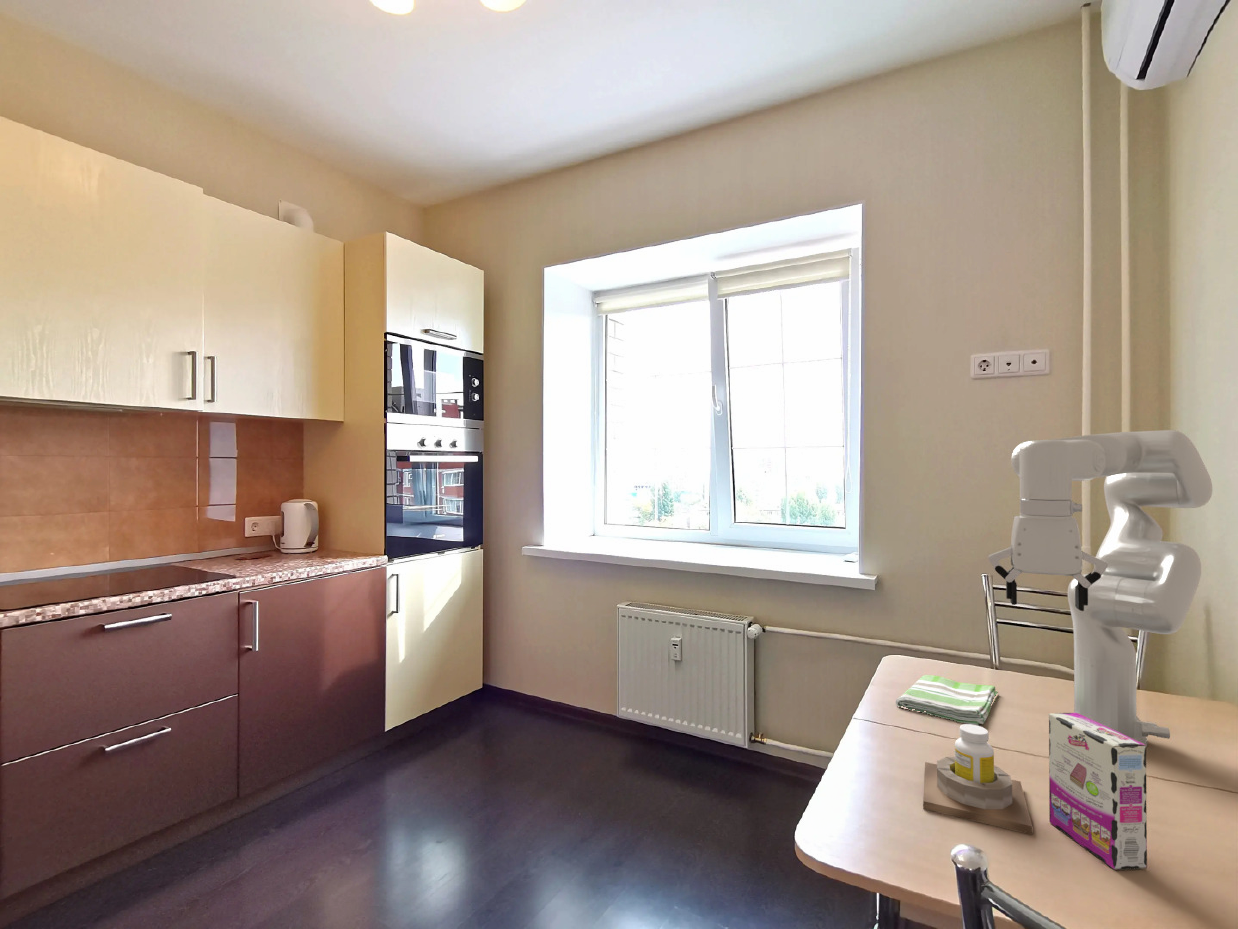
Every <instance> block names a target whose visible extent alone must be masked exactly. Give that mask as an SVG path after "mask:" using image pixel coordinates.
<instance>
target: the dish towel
mask: <svg viewBox="0 0 1238 929" xmlns="http://www.w3.org/2000/svg"><path fill="white" fill-rule="evenodd" d="M997 693H998V694H999V691H996V686H995V685H991V684H990V685H988V684H975V683H968V682H959V681H956V680H953V679H950V678H946V677H943V676H939V675H931V674H925V675H921V676H920V678H918V680H917V681H916V682H914V683H913V684H912V686H910V687H909V688H908V689H907V690H905V692H904V693H903V694H902V695H900V696H898V698H896V699H895V705H896V706H897V707H898V706H899V707H901V706H903V707H906V708H908V709H909V710H912V709H915V710H913V711H920V712H923V713H927V714H926V715H928V714H931V715H935V716H934V717H936V716H938V718H940V717H941V718H940V719H944V718H946V719H945V720H949V719H950V720H951V721H953V720H954V721H953V722H956V721H957V723H961V724H972V725H977V726H980V725H984V723H985V722H986V720H988V717H989V714H990V712H991V708H992V707H991V704H992V702H993V699H994V697H995V696H996V694H997ZM899 707H898V708H899ZM909 710H908V711H909ZM913 711H912V712H913ZM924 711H926V712H924ZM923 713H922V714H923ZM931 715H930V716H931ZM980 727H981V726H980Z"/></svg>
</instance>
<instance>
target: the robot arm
mask: <svg viewBox="0 0 1238 929" xmlns="http://www.w3.org/2000/svg"><path fill="white" fill-rule="evenodd" d="M1010 457H1011V458H1010V463H1011V464H1010V465H1011V468H1012V471H1013V472H1014V474H1015V475H1016V476H1018V477H1019V515H1016V516H1014V517H1013V518H1014V519H1013V522H1012V528H1011V536H1010V537H1011V540H1010V546H1009V547H1007V548H1005V549H1002V550H1000V551H997V552H994V553H992V554H989V555H988V556H987V558H988V560H989V563H990V564H991V565H992V567H993V569H994V571H995V572H996V573H997V574H998V575H999V576H1001V578H1003V579H1004V580H1005V583H1006V584H1005V591H1006V592H1005V597H1006V600H1010V604H1011V606H1012V605H1014V606H1016V605H1018V601H1017V600H1018V589H1017V588H1018V587H1017V586H1018V585H1017V582H1016V579H1017V578H1018V577H1019V576H1020V575H1021V574H1023V573H1025V574H1035V575H1050V576H1051V575H1052V576H1065V577H1066V576H1067V577H1068V576H1069V577H1072V578H1073V579H1072V580H1071V581H1070V582H1069V584H1068V587H1067V600H1068V605H1069V610H1070V615H1071V620H1072V630H1073V631H1072V632H1073V675H1074V678H1073V680H1074V682H1073V683H1074V684H1073V685H1074V686H1073V687H1074V688H1073V690H1074V691H1073V692H1074V693H1073V695H1074V699H1073V700H1074V709H1073V710H1074V712H1073V713H1079V714H1081V715H1083V716H1085V717H1087V718H1089V719H1092V720H1094V721H1096V722H1098V723H1100V724H1102V725H1104V726H1107V727H1109V728H1111V729H1113V730H1115V731H1117V732H1119V733H1122V734H1124V735H1126V736H1128V737H1130V738H1132V739H1134V740H1136V741H1138V742H1141V743H1143V744H1145V745H1146V747H1147V746H1148V737H1149V736H1154V737H1157V738H1163V739H1170V738H1171V732H1170V729H1169V727H1165V726H1157V723H1156V722H1149V721H1142V720H1141V719H1140V718H1139V717H1138V716H1137V652H1136V648H1135V646H1134V644H1133V641H1132V640H1131V639H1130V637H1129V636H1128V634H1127V633H1126V632H1125V631H1124V629H1131V630H1136V631H1141V632H1146V633H1147V632H1148V633H1152V634H1153V633H1154V634H1161V635H1171V634H1174V633H1177V632H1178V631H1179V630H1180V629H1181V628H1182V626H1183V624H1184V622H1185V620H1186V618H1187V615H1188V613H1189V610H1190V607H1191V605H1192V602H1193V600H1194V597H1195V594H1196V592H1197V589H1198V588H1199V584H1200V582H1201V576H1202V564H1201V558H1200V557H1199V555H1198V553H1197V551H1196V550H1195V549H1194V548H1193V547H1191V546H1189V545H1187V544H1184V543H1182V542H1181V543H1179V542H1175V541H1165V540H1164V541H1163V537H1164V536H1163V535H1164V532H1163V529H1162V527H1161V525H1160V524H1159V523H1158V522H1157V521H1156V520H1155V519H1154V518H1153V517H1152V516H1151V515H1150V514H1149V513H1147V512H1146V511H1144V510H1143V509H1142V507H1146V508H1147V507H1149V508H1170V509H1171V508H1173V509H1197V508H1201V507H1203V506H1205V505H1206V504H1208V503H1209V501H1210V500H1211V498H1212V495H1213V483H1212V479H1211V475H1210V474H1209V471H1208V469H1207V467H1206V465H1205V464H1204V461H1203V459H1202V458H1201V455H1200V453H1199V451H1198V449H1197V448H1196V445H1195V444H1194V443H1193V442H1192V440H1191V439H1190V438H1189V437H1188V436H1187V435H1186V434H1184V432H1182V431H1179V430H1174V429H1163V430H1142V431H1141V430H1140V431H1137V430H1136V431H1122V432H1121V431H1120V432H1110V433H1109V432H1108V433H1098V434H1087V435H1086V434H1085V435H1076V436H1071V437H1070V436H1069V437H1062V438H1051V439H1041V440H1040V439H1039V440H1036V439H1035V440H1026V441H1022V442H1020V443H1019V444H1018V445H1017V446H1016V447H1014V449H1013V451H1012V453H1011V456H1010ZM1096 478H1105V479H1104V483H1103V492H1104V498H1105V499H1104V500H1105V504H1106V509H1107V512H1108V516H1109V520H1110V525H1109V528H1108V531H1107V533H1106V535H1105V536H1104V539H1103V541H1102V542H1101V544H1100V546H1099V548H1098V550H1097V553H1096V555H1095V556H1094V555H1091V554H1090V553H1087V552H1085V551H1082V550H1083V549H1082V541H1081V540H1082V539H1081V533H1080V528H1079V525H1078V520H1077V518H1075V517H1073V516H1074V515H1073V514H1075V513H1077V512H1081V513H1082V512H1083V504H1082V503H1076V502H1074V501H1073V500H1072V499H1073V498H1072V494H1073V492H1072V491H1073V490H1072V488H1073V487H1072V482H1084V481H1085V482H1086V481H1091V480H1095V479H1096ZM1007 557H1010V565H1011V566H1012V567H1011V568H1010V569H1009V570H1006V569H1005V568H1004V567H1003V566H1002V565H1001V563H1000V561H1001V560H1003V559H1005V558H1007ZM1083 561H1085V562H1088V563H1089V564H1092V565H1093V569H1092V571H1090V572H1088V573H1085V574H1082V573H1083V572H1082V571H1083Z"/></svg>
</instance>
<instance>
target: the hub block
mask: <svg viewBox="0 0 1238 929" xmlns="http://www.w3.org/2000/svg"><path fill="white" fill-rule="evenodd" d="M923 775H924V776H923V778H924V779H923V802H922V803H923V804H922V805H923V806H922V807H923V808H922V809H923V810H926V811H930V812H935V813H938V814H939V813H940V814H944V815H948V816H951V817H952V816H953V817H955V818H961V819H965V820H968V821H969V820H970V821H972V822H973V821H974V822H976V823H977V822H978V823H981V824H986V825H991V826H995V827H998V828H1003V829H1007V830H1011V831H1015V832H1019V833H1023V834H1024V833H1025V834H1027V835H1033V825H1032V821H1031V817H1030V813H1029V808H1028V804H1027V801H1026V798H1025V794H1024V790H1023V787H1022V781H1019V780H1015V779H1012V778H1011V775H1010V774H1008V773H1007V772H1006V771H1005V770H1003V769H1002V768H1001V767H999V766H997V765H994V782H993V783H978V782H974V781H969V780H966V779H964V778H961V777H959V776H957V775H955V756H944V757H943V758H941V759H939V760H937V761H936V763H933V762H927V761H924V774H923Z"/></svg>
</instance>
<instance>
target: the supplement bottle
mask: <svg viewBox="0 0 1238 929" xmlns="http://www.w3.org/2000/svg"><path fill="white" fill-rule="evenodd" d="M994 754H995V752H994V748H993V746H992V745H991V744H990V743H989V731H988V730H987V729H986V728H984V727H983V726H977V725H972V724H967V723H962V724H961V725H960V726H959V737H958V738H957V739H956V740H955V742H954V757H955V775H957V776H959V777H961V778H964V779H966V780H969V781H974V782H978V783H993V782H994V766H995V757H994V756H995V755H994Z"/></svg>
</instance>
